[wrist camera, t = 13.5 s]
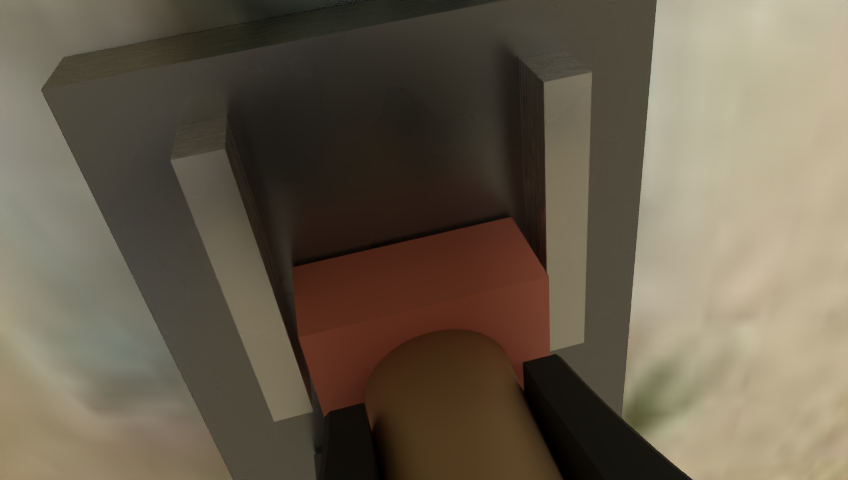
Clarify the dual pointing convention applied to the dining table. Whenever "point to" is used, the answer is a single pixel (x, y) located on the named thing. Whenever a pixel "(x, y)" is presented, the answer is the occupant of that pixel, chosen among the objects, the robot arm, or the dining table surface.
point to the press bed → (360, 178)
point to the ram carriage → (434, 351)
